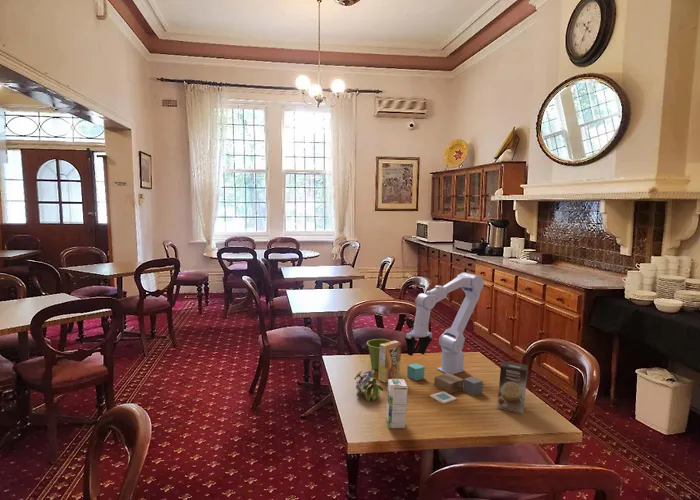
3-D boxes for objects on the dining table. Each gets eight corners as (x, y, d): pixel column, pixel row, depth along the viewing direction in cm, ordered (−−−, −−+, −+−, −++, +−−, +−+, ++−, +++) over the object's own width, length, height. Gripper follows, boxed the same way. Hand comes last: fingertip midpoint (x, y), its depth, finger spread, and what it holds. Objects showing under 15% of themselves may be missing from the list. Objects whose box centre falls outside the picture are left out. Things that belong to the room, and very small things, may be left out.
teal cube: (416, 374, 187) (416, 363, 187) (424, 378, 183) (424, 366, 182) (407, 376, 184) (407, 365, 184) (415, 380, 180) (415, 369, 180)
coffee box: (496, 408, 158) (499, 365, 156) (498, 401, 164) (501, 359, 162) (523, 414, 154) (527, 370, 152) (524, 406, 160) (528, 364, 158)
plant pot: (378, 360, 201) (379, 337, 200) (398, 368, 193) (399, 343, 191) (360, 366, 193) (361, 342, 192) (379, 375, 185) (380, 349, 184)
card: (443, 392, 170) (443, 390, 170) (456, 399, 164) (456, 397, 164) (429, 396, 166) (430, 394, 166) (443, 403, 160) (443, 402, 160)
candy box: (393, 375, 185) (394, 340, 184) (400, 378, 182) (401, 342, 180) (377, 379, 180) (379, 343, 178) (384, 383, 177) (386, 346, 175)
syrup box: (385, 419, 147) (387, 378, 146) (402, 419, 148) (404, 378, 146) (388, 428, 142) (390, 385, 140) (406, 428, 142) (408, 385, 140)
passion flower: (358, 407, 167) (352, 376, 172) (386, 402, 168) (379, 370, 173) (358, 403, 157) (352, 369, 162) (388, 397, 158) (381, 364, 163)
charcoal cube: (471, 388, 174) (472, 376, 174) (482, 393, 170) (482, 380, 170) (463, 391, 172) (464, 378, 171) (473, 396, 167) (474, 383, 167)
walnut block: (447, 382, 180) (448, 372, 180) (462, 389, 174) (463, 379, 173) (434, 386, 176) (434, 376, 175) (449, 393, 169) (449, 384, 169)
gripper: (424, 319, 189) (419, 350, 190) (402, 320, 180) (397, 352, 180) (437, 324, 184) (432, 355, 185) (415, 324, 174) (410, 357, 175)
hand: (415, 354), depth 182 cm, fingers open, 7 cm apart
